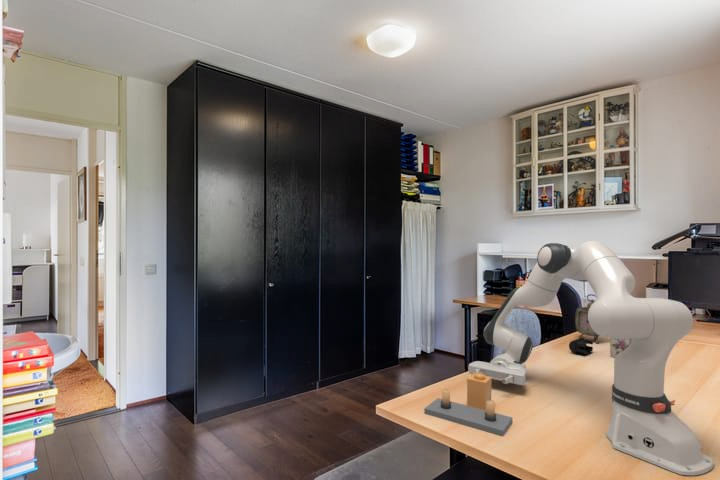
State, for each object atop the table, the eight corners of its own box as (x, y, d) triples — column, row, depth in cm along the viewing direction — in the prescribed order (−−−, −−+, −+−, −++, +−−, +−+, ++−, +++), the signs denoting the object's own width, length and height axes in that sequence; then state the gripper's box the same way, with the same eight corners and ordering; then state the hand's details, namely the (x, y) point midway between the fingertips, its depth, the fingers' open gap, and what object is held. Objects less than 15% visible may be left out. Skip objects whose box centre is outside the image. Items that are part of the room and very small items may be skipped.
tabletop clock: (574, 338, 217) (575, 292, 217) (587, 336, 220) (588, 292, 220) (597, 344, 203) (598, 296, 203) (611, 343, 206) (611, 296, 206)
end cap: (577, 349, 195) (577, 336, 194) (593, 353, 189) (593, 339, 189) (568, 353, 188) (568, 339, 188) (584, 357, 183) (584, 342, 183)
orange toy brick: (491, 404, 130) (491, 373, 130) (485, 410, 125) (485, 379, 125) (473, 400, 133) (473, 370, 133) (467, 406, 128) (467, 375, 128)
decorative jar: (652, 361, 177) (652, 321, 177) (635, 364, 173) (635, 323, 173) (625, 353, 188) (626, 316, 188) (609, 356, 184) (609, 318, 184)
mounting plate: (512, 422, 117) (512, 400, 117) (502, 436, 109) (503, 412, 109) (437, 402, 131) (437, 382, 131) (424, 413, 123) (424, 392, 123)
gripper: (475, 355, 156) (462, 364, 144) (530, 364, 144) (520, 375, 133) (475, 370, 156) (462, 381, 145) (529, 382, 144) (520, 394, 133)
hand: (490, 378), depth 138 cm, fingers open, 8 cm apart
